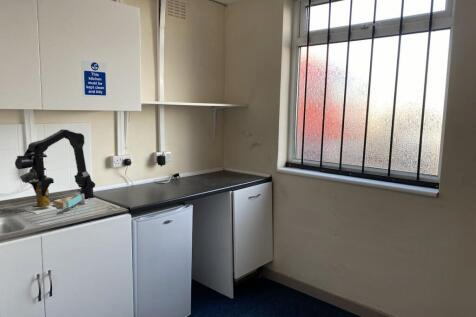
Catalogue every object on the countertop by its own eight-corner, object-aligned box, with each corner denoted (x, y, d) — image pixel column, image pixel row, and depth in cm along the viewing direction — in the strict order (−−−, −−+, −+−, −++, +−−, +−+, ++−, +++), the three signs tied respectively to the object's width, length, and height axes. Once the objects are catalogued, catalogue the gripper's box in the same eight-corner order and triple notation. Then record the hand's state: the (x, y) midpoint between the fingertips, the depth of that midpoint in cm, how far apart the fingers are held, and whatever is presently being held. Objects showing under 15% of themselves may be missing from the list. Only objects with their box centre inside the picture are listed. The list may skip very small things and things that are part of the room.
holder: (73, 201, 212) (73, 191, 211) (85, 204, 205) (84, 193, 205) (53, 205, 202) (52, 195, 201) (65, 209, 196) (64, 198, 195)
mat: (46, 205, 202) (46, 204, 202) (56, 209, 196) (56, 207, 196) (25, 210, 193) (25, 209, 193) (36, 213, 187) (35, 212, 187)
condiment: (52, 205, 195) (50, 183, 193) (34, 208, 189) (32, 186, 188) (48, 203, 200) (46, 182, 199) (31, 206, 194) (28, 184, 193)
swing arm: (80, 199, 203) (80, 194, 203) (82, 199, 203) (82, 194, 203) (66, 207, 187) (65, 202, 187) (68, 207, 187) (68, 202, 187)
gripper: (13, 166, 190) (15, 196, 192) (31, 170, 179) (33, 201, 182) (34, 164, 199) (37, 191, 201) (53, 167, 188) (55, 196, 191)
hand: (40, 195), depth 193 cm, fingers closed on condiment, 6 cm apart
